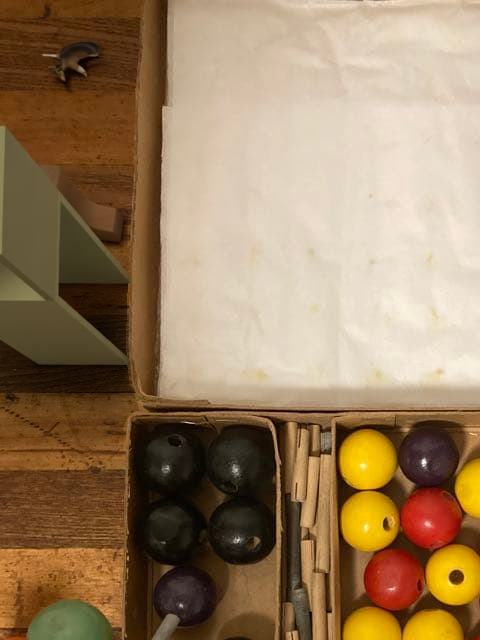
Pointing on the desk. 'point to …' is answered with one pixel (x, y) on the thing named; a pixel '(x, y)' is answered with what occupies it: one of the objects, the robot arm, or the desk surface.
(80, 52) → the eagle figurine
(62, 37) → the desk surface
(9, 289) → the shelf
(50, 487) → the desk surface
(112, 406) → the desk surface
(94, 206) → the wooden block
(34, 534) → the desk surface
